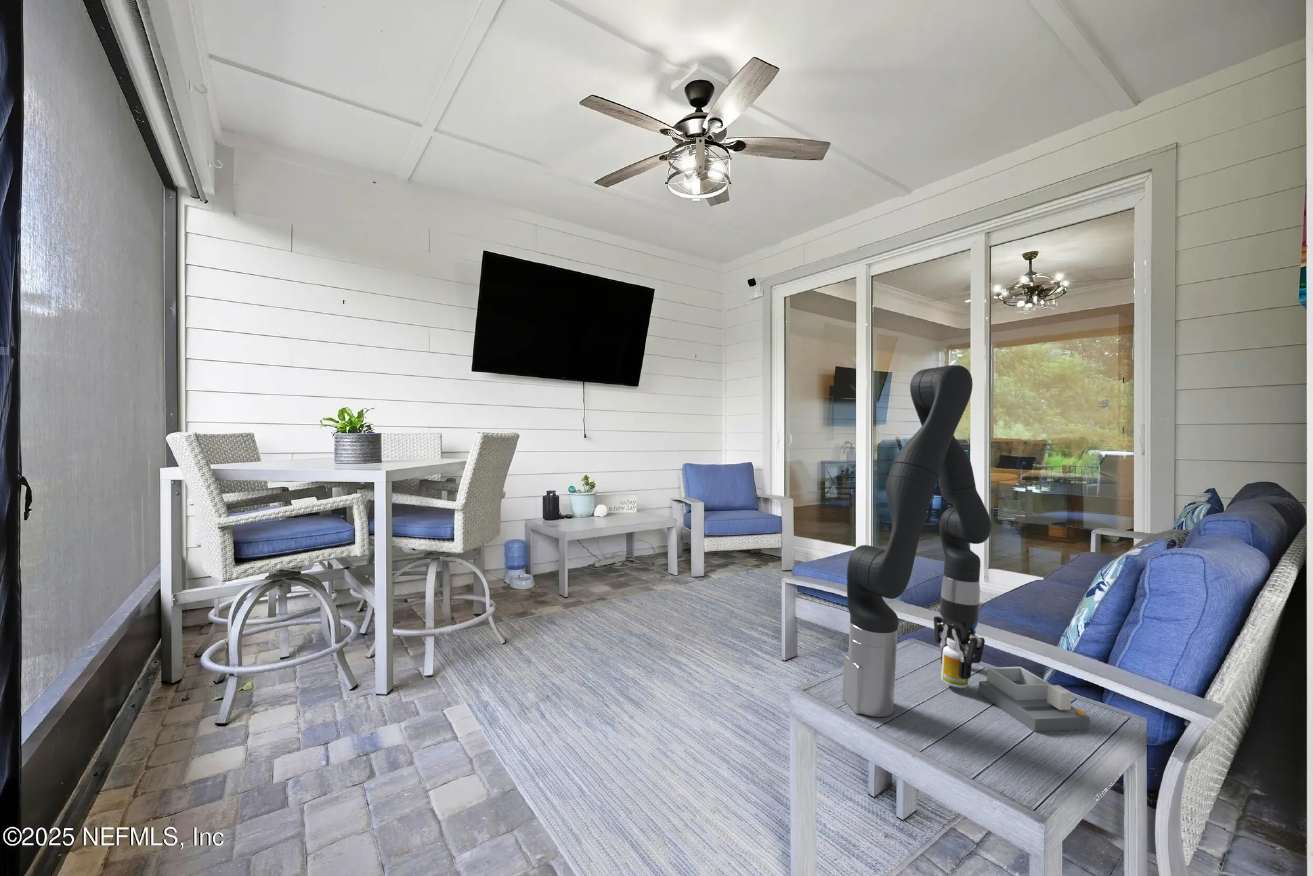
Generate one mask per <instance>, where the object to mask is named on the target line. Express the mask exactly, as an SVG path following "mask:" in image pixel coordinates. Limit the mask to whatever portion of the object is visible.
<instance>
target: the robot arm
mask: <svg viewBox="0 0 1313 876" xmlns="http://www.w3.org/2000/svg"><path fill="white" fill-rule="evenodd" d="M909 388H910V389H909V392H910V397H911V400H912V403H913V406H914V409H915V412H916V414H917V417H918V420H919V422H920V425H921V427H920V428H919V429H918V430H917V432H915V434H913V435H912V436H911V438H910V439H909V440H908V441H907V442H906V443H905V444H904V445H903V446H902V447H901V449H899V451H898V453H896V455H895V457H894V459H893V462H892V464H891V467H890V471H889V473H888V476H887V479H886V483H885V494H886V495H885V496H886V500H887V504H888V508H889V513H890V517H891V531H890V536H889V539H888V541H887V542H888V543H887V544H886V545H887V546H886V548H885V549H884V548H880V547H876V546H873V545H867V544H863V545H859V546H857V547H855V548H854V550H853V551H852V552H851V554H850V556H849V559H848V562H847V568H846V604H847V610H848V612H849V635H848V652H847V653H848V654H845V655H844V657H843V674H842V675H843V677H842V691H841V693H842V694H841V695H842V696H841V698H842V700H843V701H844V702H845V704H847V706H848V707H850V708H851V710H852V712H854V713H855V714H859V715H860V714H862V715H865V716H868V717H873V718H874V717H876V718H881V717H883V718H885V717H888V716H891V715H892V714H893V712H894V706H895V705H894V704H895V687H896V686H895V685H896V664H897V663H896V662H897V650H898V649H897V647H898V646H897V644H898V631H899V630H898V629H899V628H898V627H899V617H898V615H897V613H896V611H894V609H892V607H890V606H889V605H888V603H886V601H885V599H889V600H894V599H897V598H899V597H900V596H902V595H903V593H904V592H905V591H906V588H907V587H908V584H909V582H910V579H911V575H912V572H913V567H914V563H915V560H916V554H917V551H918V550H917V549H918V545H919V542H920V541H919V540H920V536H921V533H922V532H921V531H922V529H923V526H924V523H925V518H926V515H927V513H928V509H929V506H930V503H931V501H932V498H933V496H934V494H935V490H936V487H937V484H938V486H939V490H940V494H941V497H942V498H943V499H944V500H945V501H946V502H948V503H950V504H951V505H952V506H953V507H948V508H947V509H946V510H945V511H944V512H943V513H942V515H941V517H940V518H939V519H940V520H939V525H938V526H939V527H938V529H939V535H940V536H939V537H940V541H941V546H942V550H943V555H944V565H943V576H942V581H941V591H940V592H941V593H940V609H939V614H940V615H939V616H933V628H934V641H935V643H936V644H938V645H939V649H941V651H940V653H941V655H940V664H941V665H942V655H943V648H944V647H946V646H948V645H947V638H948V637H949V638H950V639H952V640H953V641H955V645H956V649H957V650H958V651H959V655H960V660H961V661H960V666H959V677H960V678H962V679H968V680H969V679H970V678H971V676H972V667H973V666H972V665H973V664H980V663H981V660H982V655H983V652H984V648H985V643H986V640H985V638H984V637H979V636H977V635H976V634H975V632H974V627H973V626H974V624H975V623H976V622H979V614H980V601H981V599H980V598H981V597H980V596H981V586H980V575H981V558H980V556H979V555H978V554H976V553H975V552H974V551H973V550H971V549H970V546H969V544H972V545H973V544H974V545H979V544H982V543H984V542H986V541H987V540H988V539H989V538H990V535H991V532H992V521H991V518H990V514H989V513H988V510H987V508H986V506H985V504H984V502H983V499H982V498H981V496H980V494H979V492H978V490H977V487H976V480H975V476H974V475H975V474H974V470H973V466H972V463H971V460H970V457H969V455H968V453H967V452H966V450H965V449H964V448H963V446H962V445H961V443H960V442H959V440H958V439H957V438H956V437H955V436H954V434H955V432H956V430H957V428H958V425H960V421H961V419H962V417H963V415H964V413H965V411H966V408H967V406H968V405H969V402H970V400H971V396H972V391H973V377H972V374H971V372H970V371H969V369H967V368H966V366H962V365H959V364H956V365H955V364H953V365H944V366H937V367H930V368H923V369H920V370H918V371H917V372H915V374H914V375H913V376H912V378H911V381H910V384H909ZM884 598H885V599H884ZM940 634H941V635H940ZM966 644H967V647H962V646H961V645H966ZM964 651H967V656H965V653H964Z"/></svg>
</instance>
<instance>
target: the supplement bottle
mask: <svg viewBox="0 0 1313 876" xmlns="http://www.w3.org/2000/svg"><path fill="white" fill-rule="evenodd" d="M947 645H948V646H946V647H944V648H943V655H942V664H941V673H940V679H941V681H942V682H943V683H944V684H946V685H948V686H950V687H954V688H960V689H961V688H962V689H963V688H967V687H968V686H969V679H962V678H960V677H959V666H960V661H961V660H960V655H959V651H958V650H957V649H956V645H955V641H953V640H952V639H950V638H949V637H948V638H947ZM961 646H962V647H967V644H966V645H961ZM964 653H965V656H967V651H964Z"/></svg>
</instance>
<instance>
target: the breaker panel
mask: <svg viewBox="0 0 1313 876" xmlns="http://www.w3.org/2000/svg"><path fill="white" fill-rule="evenodd" d="M1048 685H1052V684H1051V683H1050V682H1048V681H1046V680H1044V679H1042V678H1041V677H1039V676H1038V675H1036V674H1033V673H1032V672H1030V671H1029V670H1027V669H1025V668H1023V667H1022V666H1005V667H1004V666H1003V667H1001V666H1000V667H997V666H996V667H987V672H986V680H979V681H978V693H979V694H980V695H982V696H983V697H985V698H986V699H988V700H989V701H990V702H992V703H993V704H995V706H998V708H999V709H1002V710H1003V711H1004V712H1006V713H1007V714H1008V715H1011V717H1013V718H1014V719H1016V720H1017V721H1019V722H1020V723H1021V724H1023V725H1024V726H1026V727H1027V728H1028V729H1030V730H1031V731H1033V732H1034V733H1037V732H1053V731H1055V732H1057V731H1075V730H1089V729H1090V727H1089V726H1090V716H1089V715H1087V714H1086V711H1084V710H1083V709H1077V708H1076V707H1074V706H1072V705H1071V710H1059V709H1057V708H1056V707H1054V706H1053V705H1051V704H1049V703H1048V702H1047V696H1048Z"/></svg>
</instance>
